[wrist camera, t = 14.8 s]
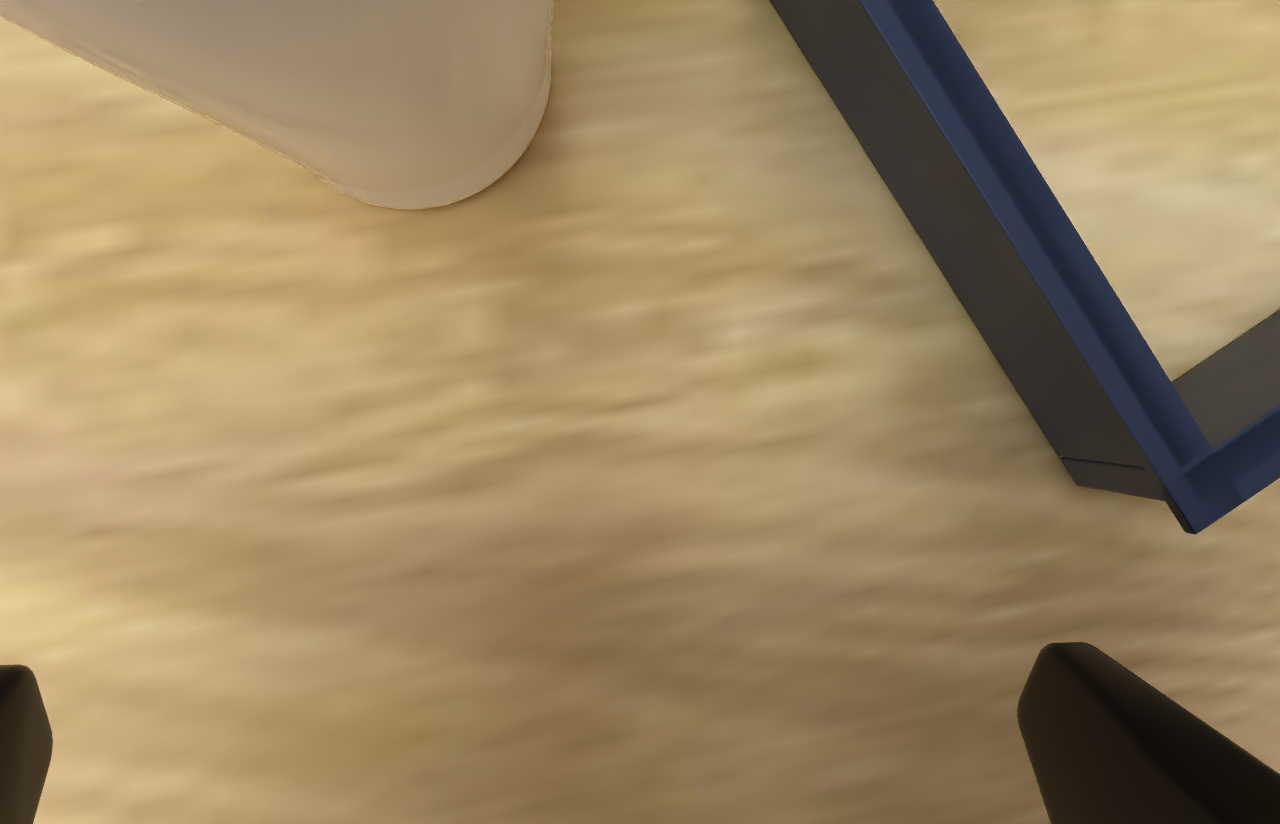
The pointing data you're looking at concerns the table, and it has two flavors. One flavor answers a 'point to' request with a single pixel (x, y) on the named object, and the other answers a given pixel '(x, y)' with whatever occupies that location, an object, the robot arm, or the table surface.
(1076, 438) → the dark blue square tray
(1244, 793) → the robot arm
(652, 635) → the table surface
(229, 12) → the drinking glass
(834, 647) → the table surface
